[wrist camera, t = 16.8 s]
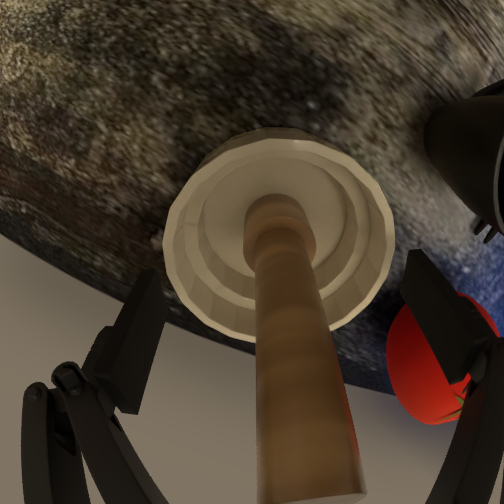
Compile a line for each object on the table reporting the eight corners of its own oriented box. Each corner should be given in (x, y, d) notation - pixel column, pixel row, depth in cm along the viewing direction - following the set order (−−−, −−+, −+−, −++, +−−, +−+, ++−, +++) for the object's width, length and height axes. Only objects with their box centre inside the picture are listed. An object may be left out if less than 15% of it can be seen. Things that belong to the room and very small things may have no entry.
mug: (510, 100, 15) (589, 124, 7) (455, 205, 21) (525, 264, 12) (453, 34, 14) (541, 28, 5) (389, 152, 19) (469, 197, 11)
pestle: (232, 215, 21) (194, 504, 5) (284, 181, 20) (367, 475, 4) (266, 259, 23) (282, 521, 7) (317, 229, 21) (405, 490, 6)
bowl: (149, 199, 21) (118, 235, 16) (303, 90, 17) (324, 88, 12) (252, 314, 26) (252, 367, 21) (387, 239, 22) (419, 282, 17)
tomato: (468, 309, 27) (521, 393, 15) (392, 360, 30) (426, 455, 19) (445, 240, 22) (531, 337, 11) (350, 307, 26) (392, 431, 15)
